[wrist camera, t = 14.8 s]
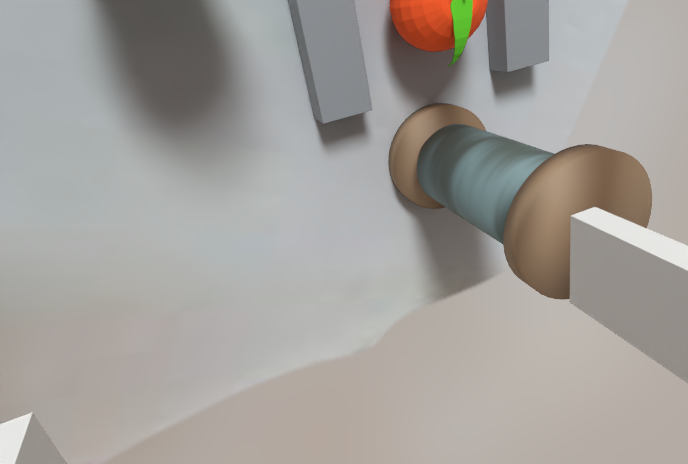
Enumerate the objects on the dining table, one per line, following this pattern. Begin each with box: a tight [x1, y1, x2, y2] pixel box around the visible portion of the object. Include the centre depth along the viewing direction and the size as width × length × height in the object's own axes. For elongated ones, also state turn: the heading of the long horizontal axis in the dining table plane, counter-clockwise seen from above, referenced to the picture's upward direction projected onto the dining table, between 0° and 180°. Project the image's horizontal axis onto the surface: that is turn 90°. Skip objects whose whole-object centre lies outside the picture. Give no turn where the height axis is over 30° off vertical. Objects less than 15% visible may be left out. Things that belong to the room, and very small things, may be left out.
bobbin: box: [389, 103, 652, 299], centre depth 35 cm, size 9×9×18 cm
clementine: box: [390, 0, 488, 67], centre depth 35 cm, size 8×7×7 cm
